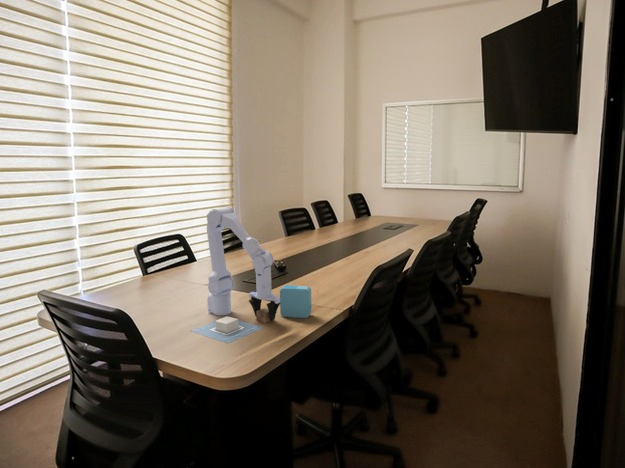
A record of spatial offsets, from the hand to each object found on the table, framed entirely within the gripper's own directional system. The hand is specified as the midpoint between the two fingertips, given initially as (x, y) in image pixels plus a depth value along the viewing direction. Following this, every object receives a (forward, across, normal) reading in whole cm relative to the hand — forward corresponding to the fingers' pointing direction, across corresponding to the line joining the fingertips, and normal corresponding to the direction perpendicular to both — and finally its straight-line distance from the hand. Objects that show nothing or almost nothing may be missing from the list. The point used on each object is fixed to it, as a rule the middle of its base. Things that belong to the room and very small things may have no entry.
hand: (265, 318), depth 173 cm
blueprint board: (+2, +5, +15) cm, 16 cm away
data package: (+2, -5, -13) cm, 14 cm away
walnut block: (+2, 0, 0) cm, 2 cm away
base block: (+1, +5, +15) cm, 16 cm away
